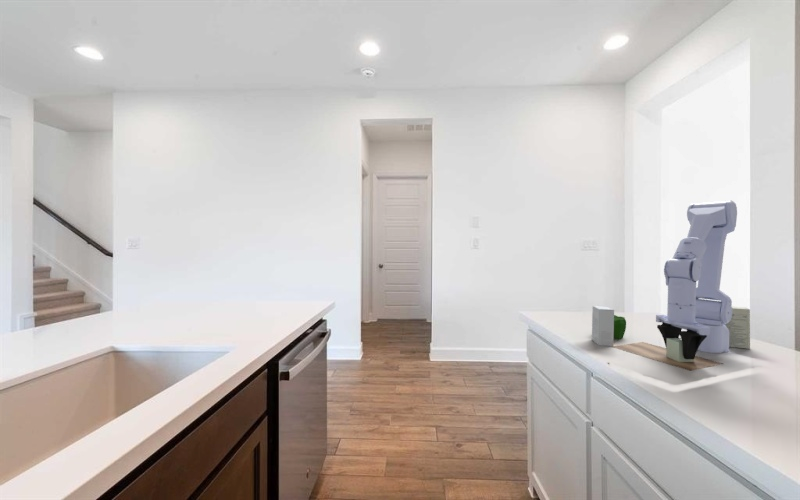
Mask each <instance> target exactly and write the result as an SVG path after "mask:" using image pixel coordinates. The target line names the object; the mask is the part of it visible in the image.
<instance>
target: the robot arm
mask: <svg viewBox="0 0 800 500" xmlns="http://www.w3.org/2000/svg"><path fill="white" fill-rule="evenodd" d="M686 217H687V221H688V222H689V225H690V227H689V230H688V232H687V233H688V234H687V237H685V238H682V239H681V240H680V241H679V244H678V246H677V248H676V249H675V253H674V254H673V257H672V258H670V259H668V260H666V261H665V264H664V268H663V275H664V277H665V286H667V308H666V309H667V310H666V311H667V312H666V315H664V314H656V315H655V322H656V323H661V324H657V325H656V326H657V330H658V332H659V333H660V335H661V336H662V339H663V341H664V345H665V347H666V345H667V338H681V339H682V344H683V355H684V358H685V359H694V358H695V356H697V355H696V354H697V352H698V351H700V352H704V353H712V354H715V353H716V354H720V353H721V354H722V353H723V352H726V353H729V354H730V353H731V354H733V351H732V352H731V351H730V347H729V330H728V328H727V327H726V326H725V325H724V324H727V323H729V322H730V320H731V318H732V307H733V305H732V302H733V301H732V298H731V297H730V296H729V295H728V294H727V293H725V292H724V291H722V290H720V287H721V279H722V270H723V262H724V261H723V260H724V254H725V253H724V252H725V246H726V245H725V243H726V239H727V236H728V235H729V234H730V233H733V232H734V231H735V228H736V226H737V218H738V207H737V204H736V203H735V201H734V200H728V201H727V200H725V201H711V202H701V203H700V202H699V203H698V202H697V203H694V202H693V203H690V205H689V206H688V207H687V211H686Z"/></svg>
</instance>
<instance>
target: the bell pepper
mask: <svg viewBox="0 0 800 500" xmlns="http://www.w3.org/2000/svg"><path fill="white" fill-rule="evenodd" d="M626 330H627V320H626V317H624V316H618V315H616V314H614V340H622V339H623V338H624V335H625V333H626Z"/></svg>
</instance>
